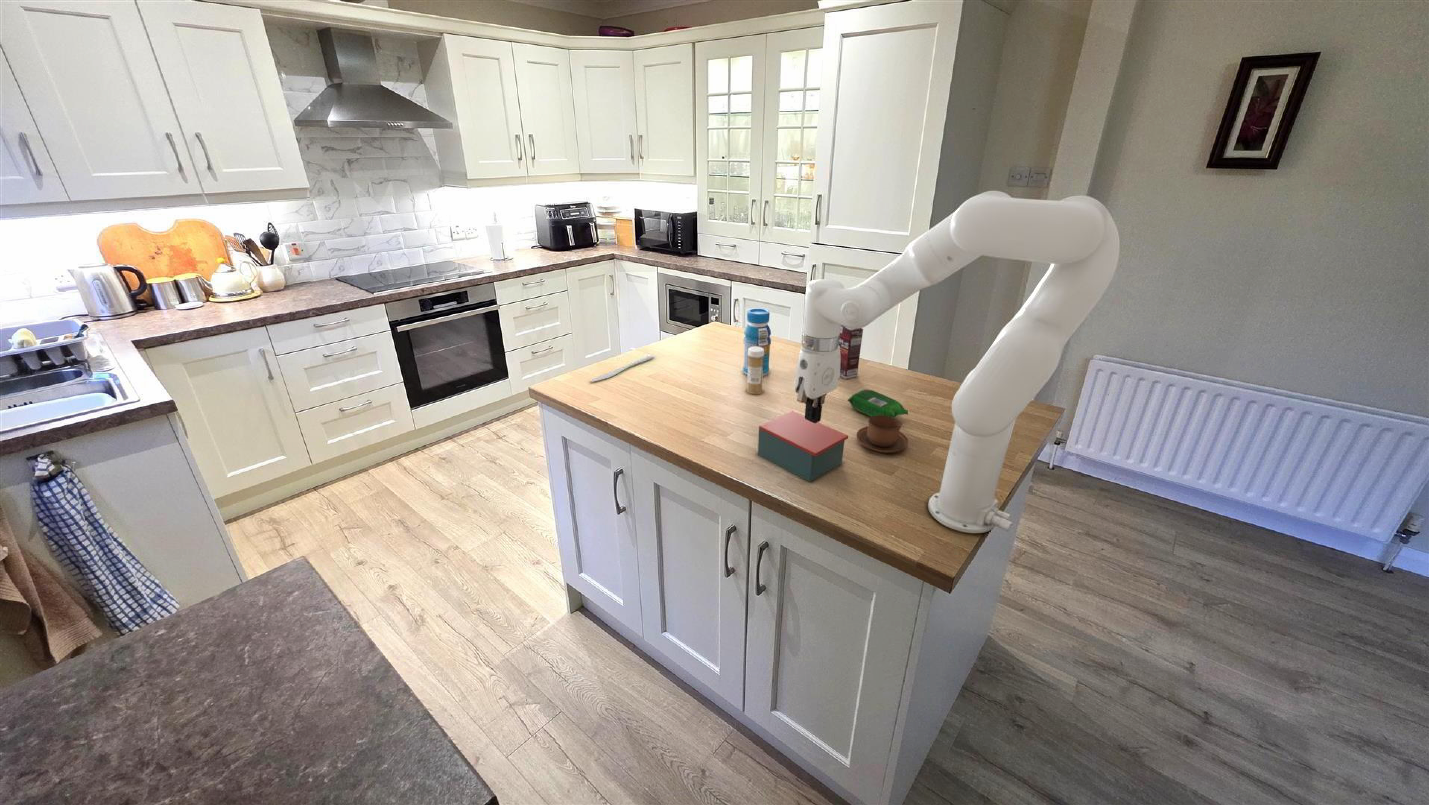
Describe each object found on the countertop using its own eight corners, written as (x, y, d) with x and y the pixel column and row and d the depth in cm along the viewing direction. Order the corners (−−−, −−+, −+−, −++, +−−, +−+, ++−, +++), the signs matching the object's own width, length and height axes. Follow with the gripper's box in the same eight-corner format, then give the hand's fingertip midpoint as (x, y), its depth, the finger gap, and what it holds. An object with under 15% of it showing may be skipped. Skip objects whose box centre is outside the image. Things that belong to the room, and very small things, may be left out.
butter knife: (656, 356, 185) (650, 354, 186) (594, 382, 165) (588, 379, 167) (656, 358, 185) (650, 355, 186) (594, 384, 166) (588, 381, 167)
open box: (841, 463, 126) (845, 437, 123) (809, 482, 119) (812, 455, 116) (790, 438, 136) (791, 413, 133) (757, 454, 129) (758, 428, 126)
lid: (848, 438, 122) (848, 435, 122) (815, 456, 115) (815, 453, 115) (791, 413, 133) (792, 410, 133) (758, 428, 126) (758, 425, 126)
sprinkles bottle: (764, 390, 162) (766, 347, 156) (759, 396, 158) (761, 352, 152) (749, 387, 164) (751, 344, 158) (744, 393, 160) (745, 349, 154)
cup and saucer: (868, 427, 141) (871, 406, 138) (914, 442, 134) (918, 420, 132) (847, 446, 133) (850, 423, 130) (894, 462, 126) (898, 439, 123)
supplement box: (828, 369, 176) (833, 322, 169) (841, 367, 178) (846, 320, 171) (845, 379, 169) (851, 330, 162) (857, 377, 171) (864, 328, 164)
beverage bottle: (739, 375, 172) (741, 313, 163) (746, 366, 179) (748, 306, 170) (766, 378, 170) (769, 316, 161) (771, 369, 177) (775, 308, 168)
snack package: (890, 429, 140) (893, 411, 138) (844, 407, 152) (846, 389, 150) (908, 422, 144) (911, 404, 142) (861, 400, 156) (864, 384, 153)
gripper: (811, 354, 106) (803, 437, 114) (856, 338, 115) (846, 415, 123) (782, 344, 111) (776, 424, 119) (827, 329, 120) (820, 404, 128)
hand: (812, 420), depth 121 cm, fingers closed
